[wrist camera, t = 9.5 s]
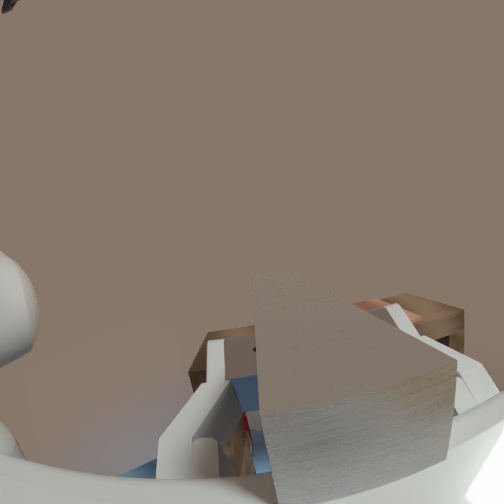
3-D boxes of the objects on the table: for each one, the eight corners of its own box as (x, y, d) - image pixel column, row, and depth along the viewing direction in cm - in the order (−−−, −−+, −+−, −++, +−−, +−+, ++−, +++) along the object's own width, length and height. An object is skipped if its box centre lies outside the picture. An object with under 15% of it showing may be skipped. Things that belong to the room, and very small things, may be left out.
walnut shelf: (244, 545, 25) (187, 368, 24) (245, 485, 38) (207, 330, 37) (442, 492, 25) (463, 306, 25) (407, 447, 38) (405, 290, 38)
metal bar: (286, 537, 4) (259, 415, 4) (258, 312, 26) (251, 276, 26) (439, 490, 4) (457, 359, 4) (293, 305, 26) (288, 270, 26)
